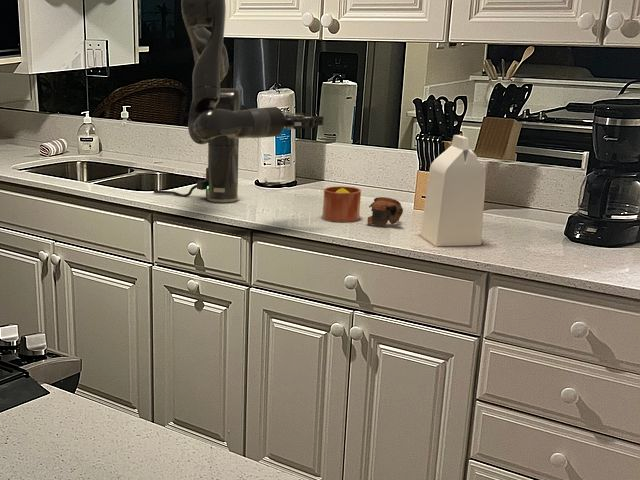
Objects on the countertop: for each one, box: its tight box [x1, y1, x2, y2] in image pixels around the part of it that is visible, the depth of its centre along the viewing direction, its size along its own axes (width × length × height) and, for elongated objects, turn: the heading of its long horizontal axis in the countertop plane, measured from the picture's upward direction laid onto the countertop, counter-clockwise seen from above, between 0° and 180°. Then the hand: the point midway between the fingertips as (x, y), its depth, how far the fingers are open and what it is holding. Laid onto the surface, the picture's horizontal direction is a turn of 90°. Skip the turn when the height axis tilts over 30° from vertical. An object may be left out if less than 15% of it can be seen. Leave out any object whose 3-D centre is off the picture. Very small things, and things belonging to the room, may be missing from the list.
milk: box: [419, 134, 487, 247], centre depth 235 cm, size 12×12×26 cm
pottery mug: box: [366, 196, 404, 228], centre depth 256 cm, size 12×10×8 cm
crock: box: [321, 185, 362, 223], centre depth 263 cm, size 10×10×8 cm
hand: (313, 118), depth 249 cm, fingers open, 8 cm apart
